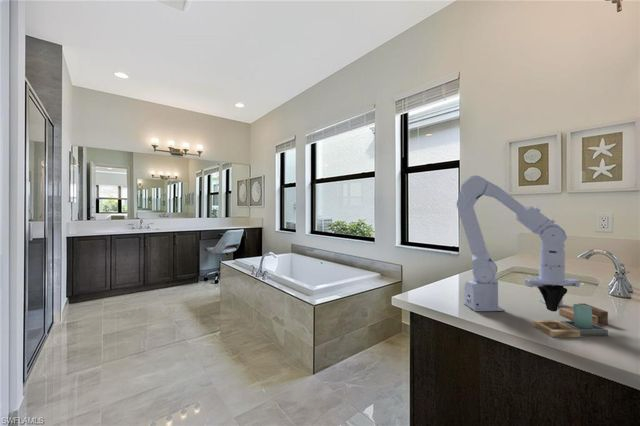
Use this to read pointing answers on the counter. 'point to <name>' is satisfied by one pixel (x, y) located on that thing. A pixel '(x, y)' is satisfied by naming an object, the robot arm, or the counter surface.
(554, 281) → the robot arm
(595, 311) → the stop block
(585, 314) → the teal capsule
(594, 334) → the tray
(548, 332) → the socket block
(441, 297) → the counter surface
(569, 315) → the tan cardboard block
